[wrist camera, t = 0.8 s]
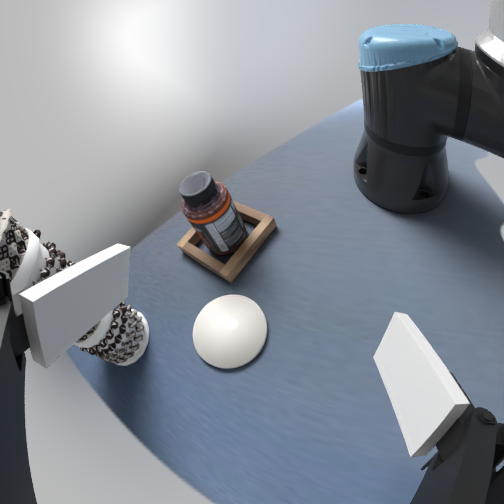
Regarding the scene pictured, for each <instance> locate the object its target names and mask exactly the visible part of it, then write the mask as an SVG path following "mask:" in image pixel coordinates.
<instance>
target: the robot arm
mask: <svg viewBox="0 0 504 504" xmlns="http://www.w3.org/2000/svg"><path fill="white" fill-rule="evenodd" d="M359 54H360V62H359V69H360V71H361V81H362V92H363V106H364V124H365V130H364V133H363V135H362V138H361V141H360V144H359V146H358V149H357V151H356V154H355V157H354V178H355V182H356V184H357V186H358V187H359V189H360V190H361V192H362V193H363V194H364V195H365V196H366V197H367V198H368V199H370V200H371V201H372V202H374V203H376V204H377V205H379V206H381V207H383V208H386V209H388V210H391V211H395V212H399V213H408V214H414V213H422V212H426V211H429V210H431V209H433V208H435V207H436V206H437V205H439V204H440V203H441V201H442V200H443V198H444V196H445V193H446V190H447V187H448V183H449V172H448V163H447V155H446V148H445V145H446V140H447V136H448V137H452V138H455V139H457V140H460V141H463V142H465V143H468V144H471V145H473V146H476V147H478V148H481V149H483V150H486V151H488V152H491V153H493V154H495V155H498V156H500V157H502V158H504V0H489V29H488V30H487V31H486V32H484V33H482V34H480V35H478V36H477V37H476V44H475V52H474V51H471V50H467V49H464V48H461V47H458V42H457V41H456V38H455V36H454V35H453V34H452V33H450V32H448V31H446V30H443V29H438V28H435V27H431V26H425V25H416V24H391V25H383V26H378V27H374V28H371V29H368V30H367V31H365V32H364V33H363V34H362V35H361V37H360V39H359ZM130 249H131V247H129V246H125V245H122V244H116V245H114V246H111V247H109V248H107V249H105V250H103V251H101V252H99V253H97V254H95V255H93V256H90V257H88V258H86V259H85V260H82V261H80V262H78V263H76V264H74V265H72V266H70V267H68V268H66V269H65V270H63V271H61V272H59V273H57V274H54V275H50V276H47V277H45V278H43V279H42V280H40V281H38V282H36V283H34V285H30V286H29V287H27V288H25V289H23V290H21V291H19V292H18V293H16V294H14V295H12V293H11V286H10V278H9V274H8V273H7V272H5V271H1V270H0V504H37V502H36V498H35V493H34V488H33V483H32V478H31V472H30V467H29V459H28V451H27V442H26V431H25V430H26V429H25V407H24V406H25V404H24V391H25V390H24V389H25V366H26V357H25V353H24V351H26V350H27V349H28V348H29V347H30V350H31V354H32V358H33V360H34V361H36V362H37V363H39V364H40V365H42V366H43V367H45V368H48V367H49V366H50V365H51V364H52V363H53V362H54V361H56V360H57V359H58V358H59V357H60V356H61V355H62V354H63V353H64V352H65V351H67V350H68V349H69V348H70V347H71V346H72V345H73V344H74V343H75V342H77V341H78V340H79V339H80V338H81V337H82V336H83V335H84V334H86V333H87V332H88V331H89V330H90V329H91V328H92V327H93V326H95V325H96V324H97V323H98V322H99V321H100V320H102V319H103V318H104V317H105V316H106V315H107V314H108V313H110V312H111V311H112V310H113V309H114V308H115V307H117V306H118V305H119V304H120V303H121V302H123V301H124V300H125V299H126V298H127V297H128V278H129V262H130ZM373 358H374V360H375V362H376V365H377V367H378V370H379V372H380V375H381V377H382V380H383V382H384V385H385V387H386V390H387V392H388V395H389V397H390V400H391V403H392V405H393V408H394V411H395V413H396V416H397V419H398V422H399V424H400V427H401V430H402V433H403V436H404V439H405V442H406V445H407V448H408V451H409V454H410V457H416V456H425V455H427V454H428V453H429V452H430V451H431V450H432V448H433V447H434V446H435V445H436V447H437V449H438V452H437V453H436V454H435V455H434V456H433V457H432V458H431V459H430V460H429V461H428V462H427V463H426V464H425V465H424V466H423V467H422V468H421V470H424V469H425V468H426V467H428V466H429V467H428V469H427V471H426V473H425V476H424V478H423V480H422V482H421V484H420V486H419V488H418V490H417V492H416V494H415V496H414V497H413V499H412V501H411V503H410V504H504V466H503V467H502V468H501V469H500V470H499V471H497V472H496V467H497V466H498V465H499V464H500V463H501V462H502V461H503V460H504V424H502V423H497V421H496V418H495V417H494V415H493V414H492V413H491V412H490V411H488V410H487V409H484V408H481V407H477V408H474V406H473V404H472V403H471V401H470V400H469V398H468V396H467V395H466V393H465V392H464V390H463V389H461V386H460V384H459V383H457V380H456V378H455V377H454V375H453V374H452V373H451V372H450V371H449V370H448V369H447V368H446V366H445V365H444V364H443V362H442V361H441V359H440V358H439V356H438V355H437V354H436V352H435V351H434V349H433V348H432V347H431V345H430V344H429V343H428V341H427V340H426V339H425V337H424V336H423V334H422V333H421V332H420V330H419V329H418V328H417V327H416V325H415V324H414V323H413V321H412V320H411V319H410V317H409V316H408V315H407V314H403V313H398V312H394V315H393V317H392V319H391V321H390V324H389V326H388V328H387V330H386V332H385V335H384V337H383V339H382V341H381V343H380V345H379V347H378V349H377V351H376V353H375V355H374V357H373Z"/></svg>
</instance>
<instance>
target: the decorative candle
mask: <svg viewBox="0 0 504 504" xmlns="http://www.w3.org/2000/svg"><path fill="white" fill-rule="evenodd" d="M40 235H41V232H40V231H39V230H35V231H34V232H33V233H32V232H31V231H30V230H29V229H26V228H23V227H22V226H21V224H20V223H19V222H18V221H16V220H15V219H14V218H13V217H12V216H11V209H6V210H5V211H3V212H1V211H0V270H1V271H5V272H7V273H8V274H9V278H10V286H11V293H12V295H14V294H16V293H18V292H19V291H21V290H23V289H25V288H27V287H29V286H30V285H34V283H36V282H38V281H40V280H42V279H43V278H45V277H47V276H50V275H54V274H57V273H59V272H61V271H63V270H65V269H66V268H68V267H70V266H72V265H74V264H76V263H72V262H71V261H67V260H66V259H65V253H64V252H61V251H60V250H57V251H56V249H55V248H56V245H55V244H54V243H50V242H46V243H45V244H44V245H41V244H40V243H39V238H40ZM57 257H59V258H60V259H58V258H57ZM149 333H150V331H149V326H148V322H147V320H146V319H145V317H144V316H143V315H142V313H140V312H138V311H137V310H136V309H135V310H133V309H132V307H131V306H130V305H127V306H125V302H124V301H123V302H121V303H120V304H119V305H118V306H117V307H115V308H114V309H113V310H112V311H111V312H110V313H108V314H107V315H106V316H105V317H104V318H103V319H102V320H100V321H99V322H98V323H97V324H96V325H95V326H93V327H92V328H91V329H90V330H89V331H88V332H87V333H86V334H84V335H83V336H82V337H81V338H80V339H79V340H78V341H77V342H75V343H74V345H76V346H78V347H80V349H81V350H82V351H84V352H85V351H87V352H88V353H90V354H91V355H94V354H95V355H96V356H98V357H99V358H100V359H102V360H106V361H108V362H110V363H112V362H113V363H115V364H116V365H123V366H127V365H130V364H132V363H134V362H136V361H137V360H138V359H139V358H140V357H141V356H142V355H143V353H144V351H145V349H146V347H147V345H148V341H149Z"/></svg>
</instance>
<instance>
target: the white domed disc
mask: <svg viewBox="0 0 504 504" xmlns="http://www.w3.org/2000/svg"><path fill="white" fill-rule="evenodd" d="M267 330H268V328H267V321H266V318H265V315H264V313H263V311H262V310H261V308H260V307H259V306H258V305H257V304H256V303H255V302H254V301H253V300H251V299H249V298H247V297H245V296H241V295H225V296H222V297H219V298H216V299H215V300H213V301H211V302H210V303H208V304H207V305H206V306H205V307H204V308H203V309H202V310H201V312H200V313H199V315H198V317H197V319H196V321H195V324H194V328H193V342H194V346H195V348H196V350H197V352H198V354H199V355H200V356H201V358H202V359H203V360H205V361H206V362H207V363H209V364H211V365H213V366H215V367H218V368H223V369H233V368H238V367H241V366H243V365H245V364H247V363H249V362H250V361H252V360H253V359H254V358H255V357H256V356H257V355H258V354H259V353H260V351H261V350H262V348H263V346H264V344H265V341H266V338H267Z"/></svg>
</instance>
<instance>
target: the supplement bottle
mask: <svg viewBox="0 0 504 504" xmlns="http://www.w3.org/2000/svg"><path fill="white" fill-rule="evenodd" d="M179 191H180V194H181V195H182V197H183V201H182V211H183V213H184V215H185V216H186V217H187V219H188V221H189V222H190V223H191V225H192V226H193V228H194V229H195V230H196V232H197V233H198V235H199V236H200V238H201V239H202V240H203V242H204V243H205V245H206V246H207V247H208V248H209V249H210V250H211V251H212V252H213V253H215V254H218V255H227V254H231V253H233V252H235V251H237V250H238V249H239V247H240V246H241V245H242V244H243V243H244V241H245V240H246V234H247V233H246V228H245V226H244V223H243V221H242V219H241V217H240V215H239V213H238V211H237V209H236V206H235V204H234V202H233V200H232V198H231V196H230V194H229V192H228V190H227V188H226V187H225V186H224V185H223V184H222V183H220V182H218V181H214V180H213V179H212V177H211V175H210V174H209V173H208V172H206V171H199V172H195V173H193V174H191V175H189V176H188V177H186V178H185V179H184V180H183V181H182V183H181V184H180V187H179Z"/></svg>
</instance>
